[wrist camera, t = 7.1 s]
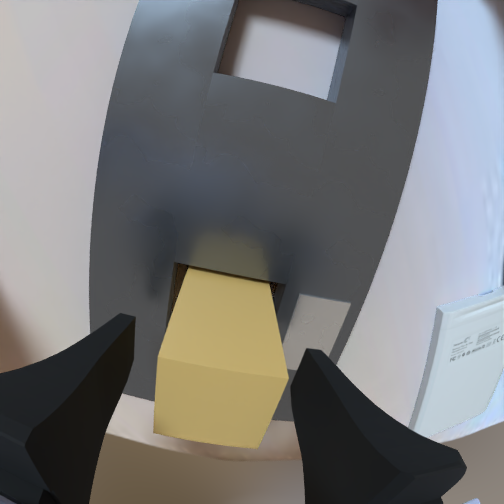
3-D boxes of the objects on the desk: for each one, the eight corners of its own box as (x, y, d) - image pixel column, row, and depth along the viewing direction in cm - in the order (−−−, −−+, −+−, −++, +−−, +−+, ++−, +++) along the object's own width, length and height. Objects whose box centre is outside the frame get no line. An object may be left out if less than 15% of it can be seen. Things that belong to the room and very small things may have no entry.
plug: (181, 320, 15) (153, 432, 8) (192, 256, 14) (157, 356, 7) (249, 333, 15) (257, 448, 9) (266, 272, 14) (288, 378, 8)
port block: (102, 368, 16) (94, 386, 15) (185, -73, 8) (180, -90, 7) (302, 404, 17) (306, 423, 16) (423, -7, 10) (439, -17, 8)
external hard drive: (403, 430, 20) (431, 301, 16) (479, 399, 20) (517, 275, 16) (410, 444, 19) (445, 315, 15) (487, 410, 19) (532, 285, 15)
